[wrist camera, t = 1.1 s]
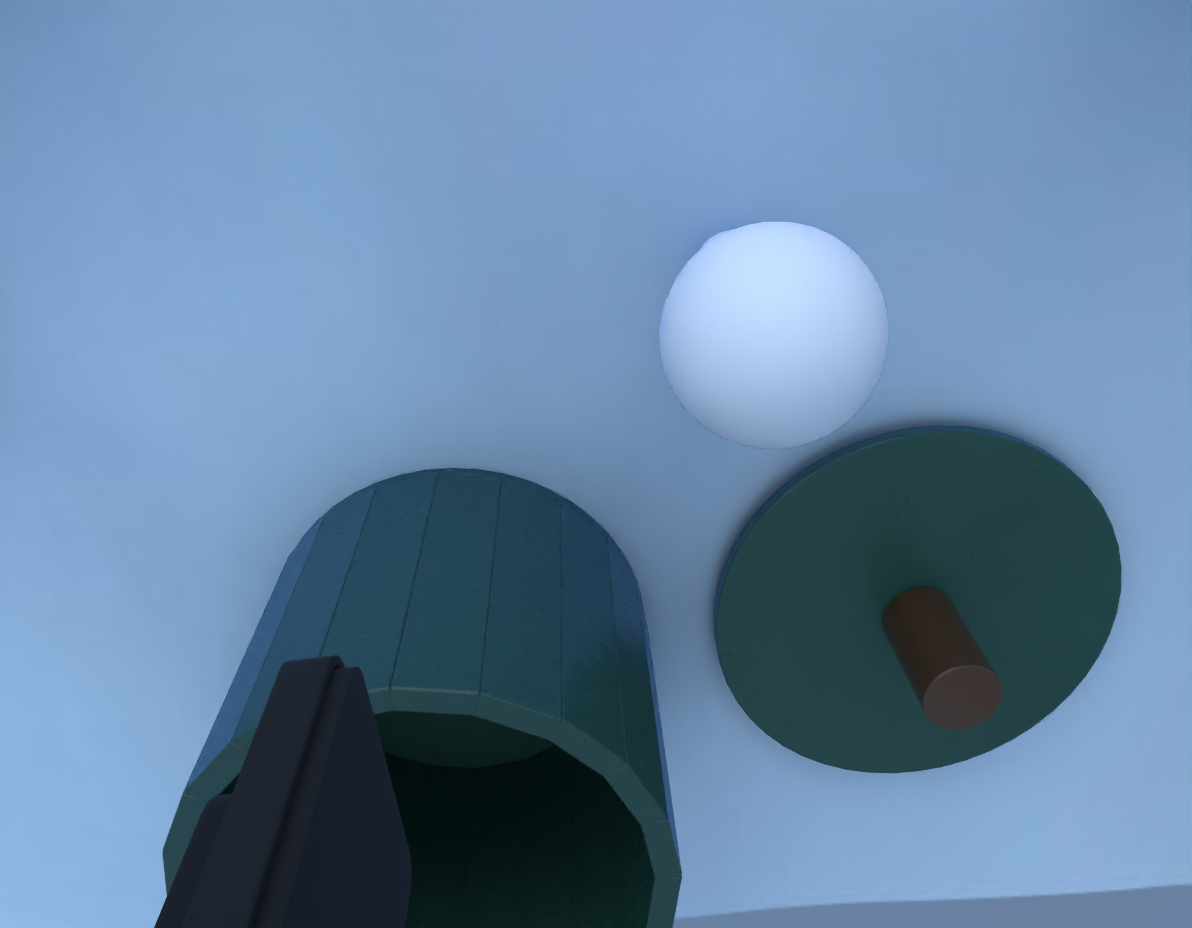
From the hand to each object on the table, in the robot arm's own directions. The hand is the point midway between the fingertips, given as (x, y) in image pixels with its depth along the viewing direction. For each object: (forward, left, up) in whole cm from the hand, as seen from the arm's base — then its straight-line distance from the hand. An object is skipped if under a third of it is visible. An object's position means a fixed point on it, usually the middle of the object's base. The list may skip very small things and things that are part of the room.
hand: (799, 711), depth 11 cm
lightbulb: (-2, +3, -26) cm, 26 cm away
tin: (+14, +11, -26) cm, 32 cm away
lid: (-2, +19, -25) cm, 32 cm away
